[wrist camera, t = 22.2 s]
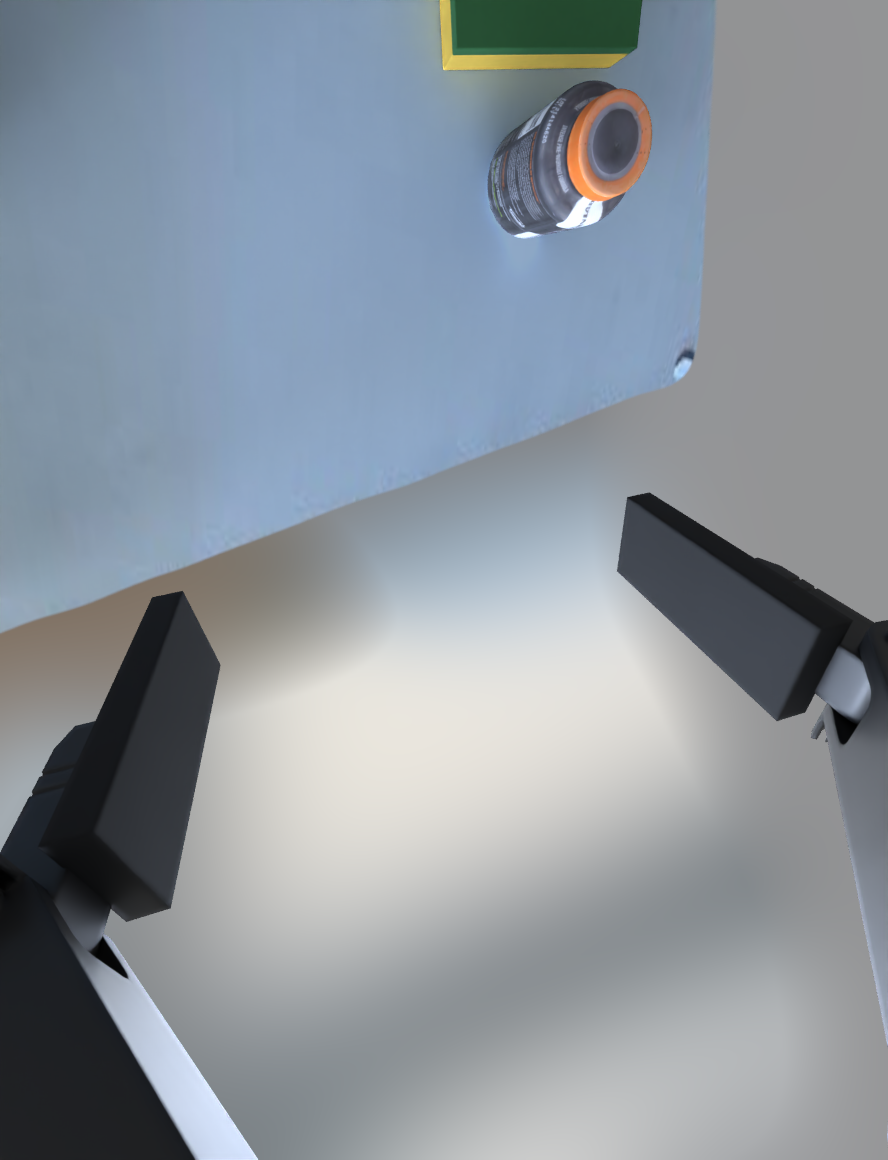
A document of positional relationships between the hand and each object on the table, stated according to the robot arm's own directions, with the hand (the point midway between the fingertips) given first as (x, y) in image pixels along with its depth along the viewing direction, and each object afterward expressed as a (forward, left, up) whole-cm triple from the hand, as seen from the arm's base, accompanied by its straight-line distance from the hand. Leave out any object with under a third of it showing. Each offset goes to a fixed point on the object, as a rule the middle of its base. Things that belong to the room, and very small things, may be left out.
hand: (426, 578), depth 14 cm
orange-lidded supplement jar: (+1, +19, -28) cm, 33 cm away
